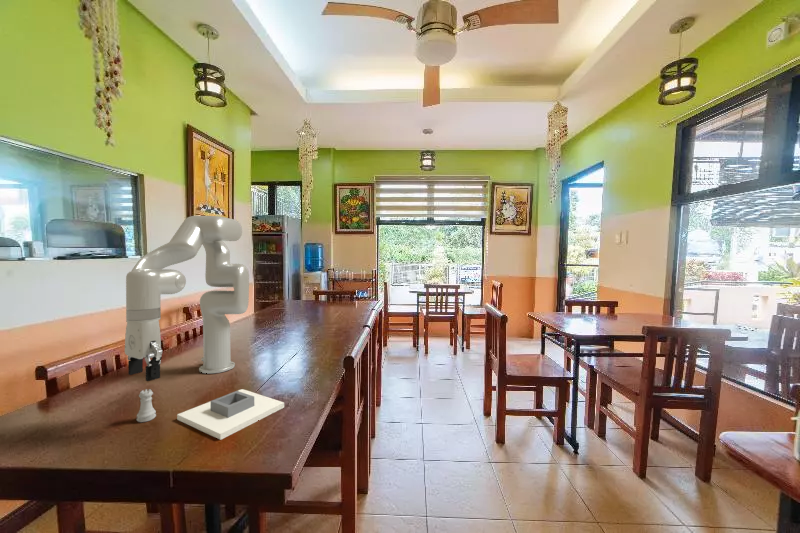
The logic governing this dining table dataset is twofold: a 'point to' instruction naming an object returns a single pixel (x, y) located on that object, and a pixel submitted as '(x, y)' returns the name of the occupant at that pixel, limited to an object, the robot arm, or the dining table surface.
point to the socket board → (230, 413)
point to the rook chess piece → (146, 407)
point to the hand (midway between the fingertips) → (144, 376)
